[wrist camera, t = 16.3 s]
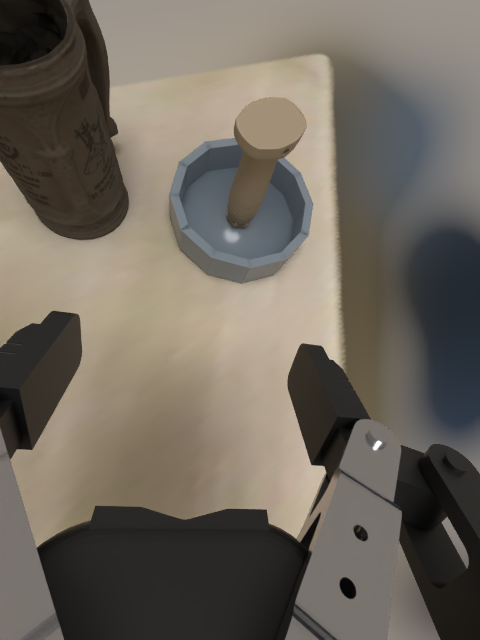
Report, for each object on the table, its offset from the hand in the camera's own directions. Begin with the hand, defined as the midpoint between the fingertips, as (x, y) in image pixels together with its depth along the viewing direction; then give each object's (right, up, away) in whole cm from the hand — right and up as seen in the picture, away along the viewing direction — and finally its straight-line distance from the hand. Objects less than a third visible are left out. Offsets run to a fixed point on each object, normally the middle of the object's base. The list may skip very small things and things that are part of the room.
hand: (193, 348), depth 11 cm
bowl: (+1, +14, +30) cm, 33 cm away
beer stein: (-17, +18, +27) cm, 37 cm away
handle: (+1, +14, +29) cm, 32 cm away
